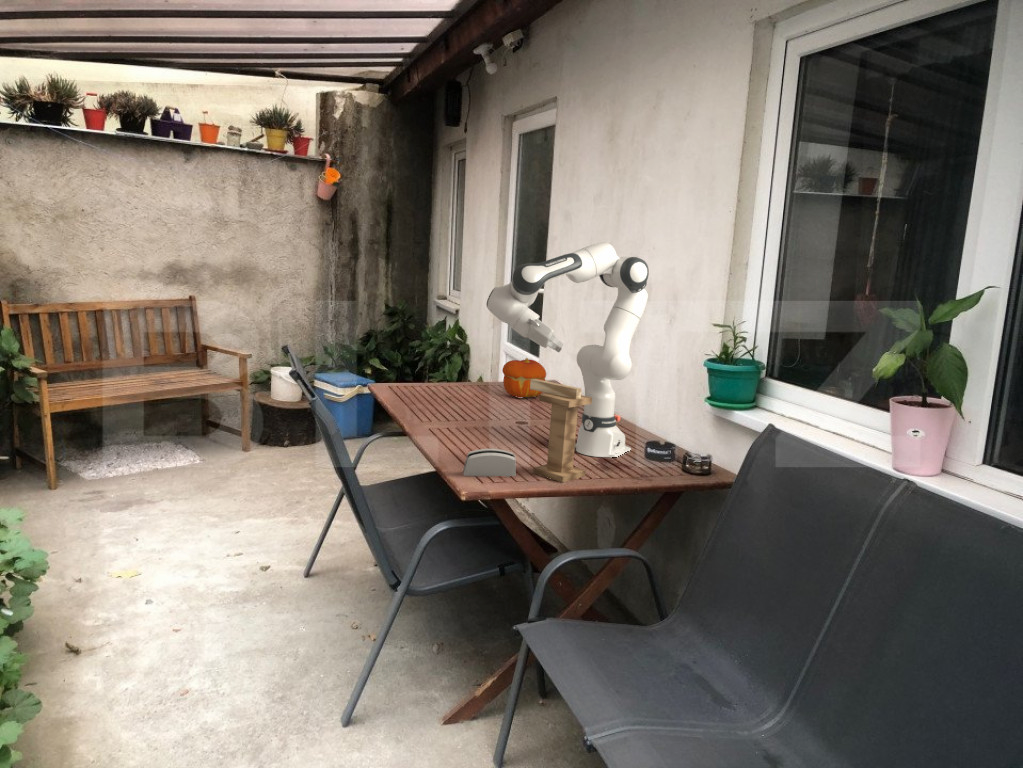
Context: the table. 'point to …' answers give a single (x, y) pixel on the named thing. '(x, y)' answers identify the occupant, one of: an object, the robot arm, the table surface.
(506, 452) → the grey arched block
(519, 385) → the pumpkin
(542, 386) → the batten
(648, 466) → the table surface
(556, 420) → the stand
